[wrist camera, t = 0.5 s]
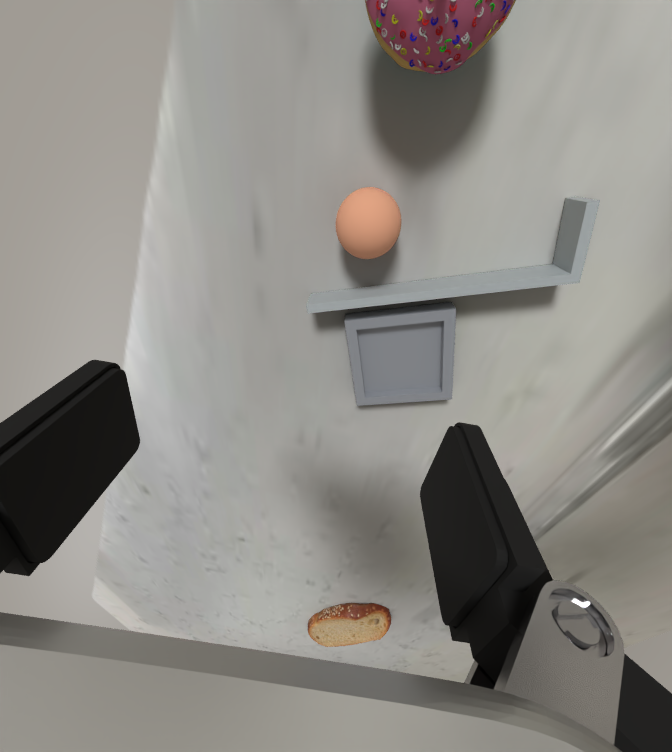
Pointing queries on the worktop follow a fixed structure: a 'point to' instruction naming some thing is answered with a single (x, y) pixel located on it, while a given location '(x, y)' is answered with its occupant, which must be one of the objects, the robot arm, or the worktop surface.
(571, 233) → the wall
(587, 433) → the worktop surface
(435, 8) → the cupcake
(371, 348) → the dish
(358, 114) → the worktop surface
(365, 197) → the ball
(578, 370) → the worktop surface
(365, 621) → the bread slice
